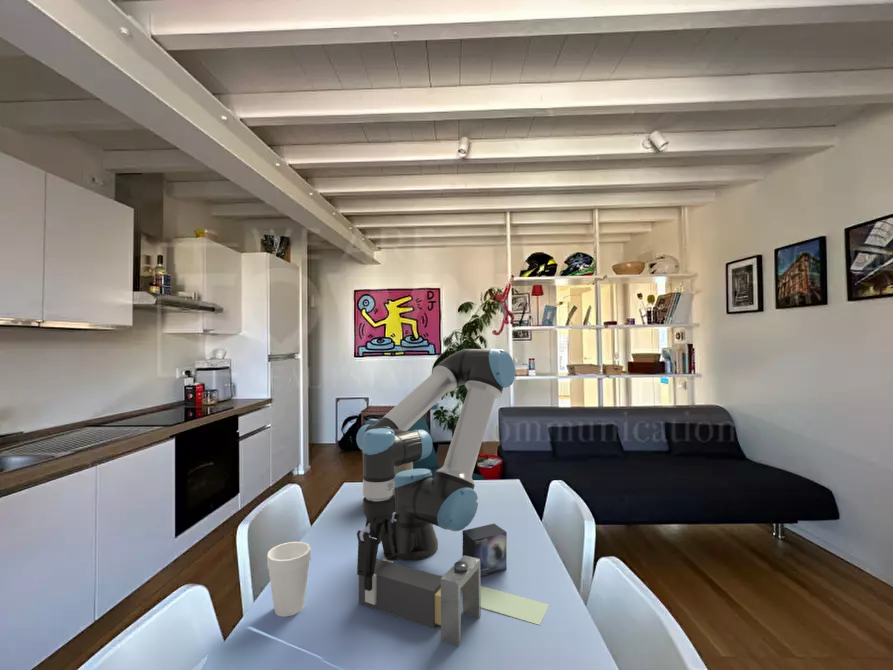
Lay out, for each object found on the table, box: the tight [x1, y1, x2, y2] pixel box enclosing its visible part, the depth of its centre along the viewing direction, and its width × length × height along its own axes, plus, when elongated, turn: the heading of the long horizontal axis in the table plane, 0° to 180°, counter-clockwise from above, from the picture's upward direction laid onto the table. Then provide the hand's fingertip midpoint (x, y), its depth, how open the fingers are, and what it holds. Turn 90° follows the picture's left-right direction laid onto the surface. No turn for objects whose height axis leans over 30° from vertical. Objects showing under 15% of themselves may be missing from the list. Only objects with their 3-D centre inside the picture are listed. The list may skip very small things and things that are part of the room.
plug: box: [358, 558, 443, 629], centre depth 99 cm, size 22×6×8 cm, turn 62°
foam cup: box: [266, 541, 312, 618], centre depth 100 cm, size 10×9×13 cm
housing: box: [440, 555, 482, 648], centre depth 92 cm, size 4×11×13 cm, turn 152°
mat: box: [481, 585, 550, 626], centre depth 100 cm, size 18×8×1 cm, turn 62°
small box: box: [461, 523, 508, 578], centre depth 115 cm, size 11×6×10 cm, turn 117°
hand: (379, 594), depth 102 cm, fingers closed on plug, 6 cm apart
